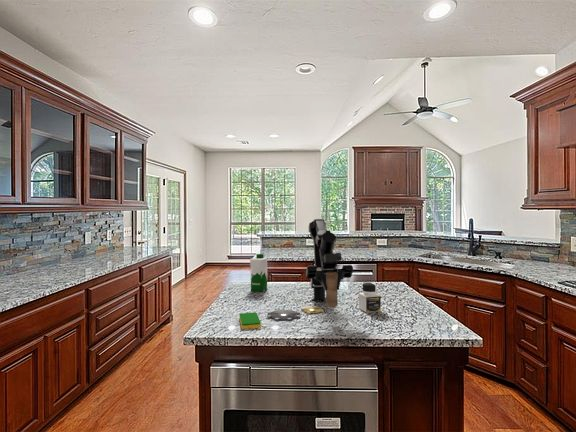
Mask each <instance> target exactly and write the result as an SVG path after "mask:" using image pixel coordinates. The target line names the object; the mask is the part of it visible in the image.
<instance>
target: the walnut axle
mask: <svg viewBox="0 0 576 432" xmlns="http://www.w3.org/2000/svg"><path fill="white" fill-rule="evenodd" d="M326 286H327V290H325V297H326V300H325V306H326V307H330V308H336V307H338V304H339V303H338V289H337V272H326Z"/></svg>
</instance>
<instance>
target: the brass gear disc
mask: <svg viewBox="0 0 576 432" xmlns="http://www.w3.org/2000/svg"><path fill="white" fill-rule="evenodd" d="M301 311H303V312H304V313H305V314H307V315H311V314H313V315H315V314H316V315H317V314H320V313H321V314H322V313H324V312H325V310H324V309H322V308H321V307H319V306H317V305H314V306H306V307H301Z"/></svg>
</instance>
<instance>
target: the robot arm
mask: <svg viewBox="0 0 576 432" xmlns="http://www.w3.org/2000/svg"><path fill="white" fill-rule="evenodd" d="M326 226H327V224H326V222H325V219H324V218H314V219H313V221H311V222H309V224H308V233H309V236H310V238H311V239H312V241H313V257H314V265H307V267H306V271H305V273H306V274H305V275H306V276H305V277H306V279H308V280H309V279H310V282H309V283H310V284H309V285H310V288H311V289H313V298H312V299H311V301H314V302H322V303H323V302H326V290H327V286H326V272H337V291H339V290H340V285H341V280H344V279H349V278H352V277H353V272H354V267H353V266H352V264H342V266H341V268H338V262H341V261H342V260H343V258H342V252H336V253H334V251H333V250H334V249H335V245H336V242H337V236H336V235H335V234H334V233H333V232H331V230H327V227H326Z"/></svg>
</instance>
